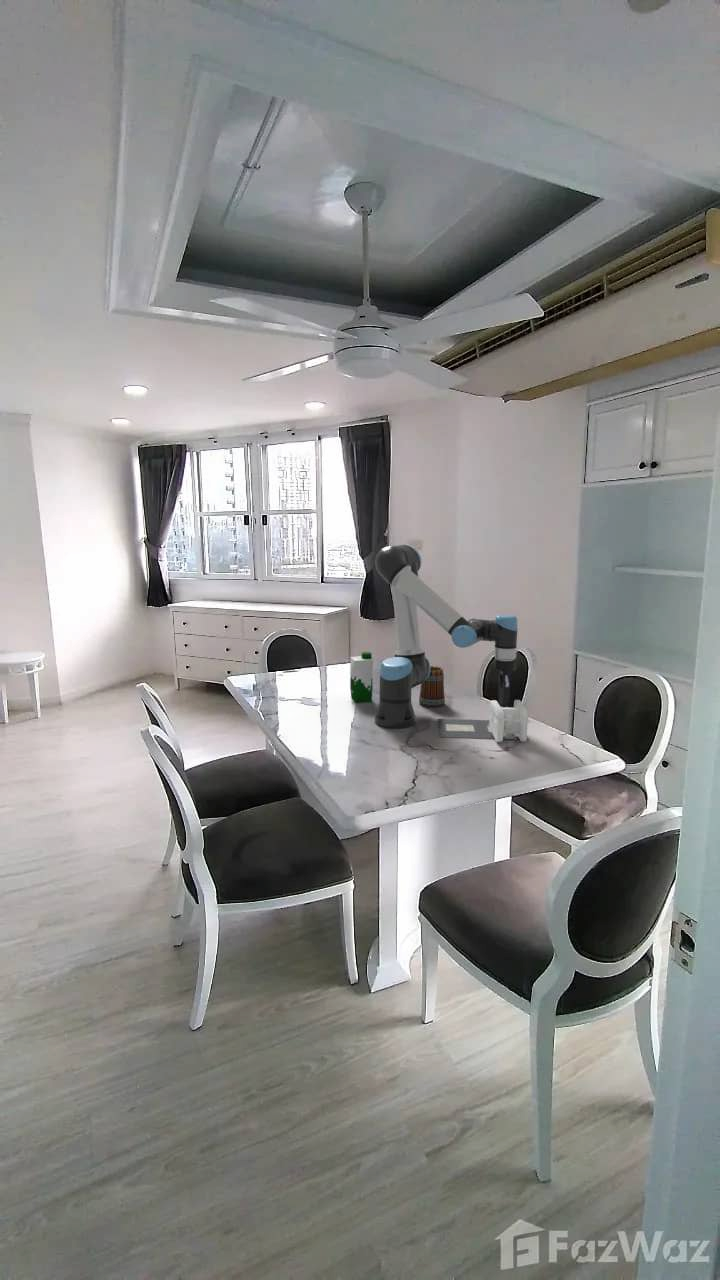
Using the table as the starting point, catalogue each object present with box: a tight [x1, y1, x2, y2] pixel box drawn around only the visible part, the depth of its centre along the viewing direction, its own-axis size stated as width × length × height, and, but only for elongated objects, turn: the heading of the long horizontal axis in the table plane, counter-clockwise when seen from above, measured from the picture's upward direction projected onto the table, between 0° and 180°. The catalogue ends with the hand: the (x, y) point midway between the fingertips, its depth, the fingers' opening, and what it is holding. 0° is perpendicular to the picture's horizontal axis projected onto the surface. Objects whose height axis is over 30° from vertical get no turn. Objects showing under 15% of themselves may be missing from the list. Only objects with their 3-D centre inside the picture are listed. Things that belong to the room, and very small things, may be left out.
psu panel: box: [437, 718, 530, 741], centre depth 217 cm, size 30×20×1 cm, turn 85°
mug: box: [418, 664, 446, 709], centre depth 249 cm, size 16×11×15 cm
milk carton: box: [349, 651, 374, 704], centre depth 251 cm, size 9×9×20 cm
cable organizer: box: [488, 699, 529, 743], centre depth 207 cm, size 15×11×12 cm
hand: (502, 722), depth 219 cm, fingers closed
